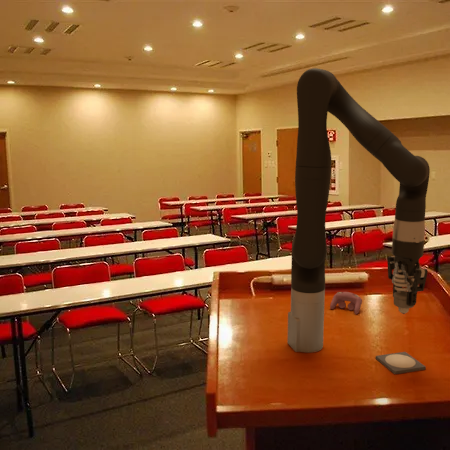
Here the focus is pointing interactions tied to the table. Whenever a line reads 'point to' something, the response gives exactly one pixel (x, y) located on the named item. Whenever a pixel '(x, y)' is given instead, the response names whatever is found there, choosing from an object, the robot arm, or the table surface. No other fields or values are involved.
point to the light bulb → (401, 293)
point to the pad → (400, 362)
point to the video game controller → (347, 296)
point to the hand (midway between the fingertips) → (403, 301)
